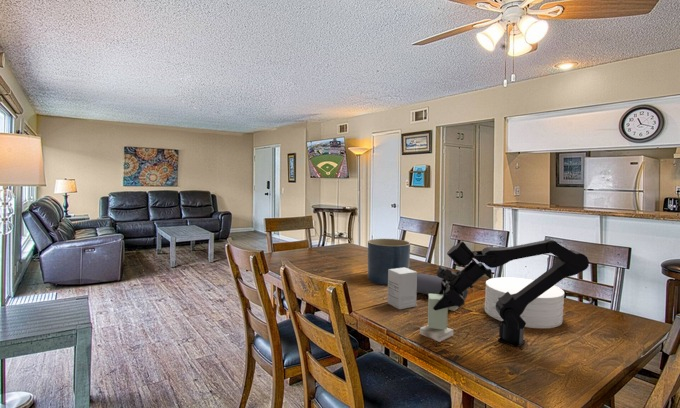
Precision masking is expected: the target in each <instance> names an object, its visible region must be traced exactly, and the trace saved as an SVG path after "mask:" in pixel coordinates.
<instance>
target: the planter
mask: <svg viewBox="0 0 680 408" xmlns="http://www.w3.org/2000/svg"><path fill="white" fill-rule="evenodd" d="M410 257H411V242H410V241H407V240H403V239H396V238H373V239H369V240H367V280H368V281H369V282H371V283H373V284H377V285H381V286H388V269H396V268H404V267H405V268H408V269H410V261H411V260H410Z"/></svg>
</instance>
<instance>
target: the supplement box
mask: <svg viewBox="0 0 680 408" xmlns="http://www.w3.org/2000/svg"><path fill="white" fill-rule="evenodd" d="M417 273H418V272H417V271H416V270H413V269H410V268H409V269H408V268H405V267H404V268H396V269H388V285H387V304H388V305H390V306H392V307H394V308H395V309H398V310H403V309H410V308H414V307H417V293H418V292H417Z"/></svg>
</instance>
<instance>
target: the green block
mask: <svg viewBox="0 0 680 408" xmlns="http://www.w3.org/2000/svg"><path fill="white" fill-rule="evenodd" d="M442 297H443V294H428V295H427V298H428V299H427V300H428V301H427V303H428V304H427V325H428V327H429V328H435V329H447V328H448V311H449V310H448V307H447V308H443V309H439V310H434V309H433V307H434V306H435V305H436V304H437V302H438V301H439V300H440V299H441V298H442Z"/></svg>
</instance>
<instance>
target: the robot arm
mask: <svg viewBox="0 0 680 408" xmlns="http://www.w3.org/2000/svg"><path fill="white" fill-rule="evenodd" d="M546 254H552V255H553V256H555V257H557V258H556V260H555V261H554V263H553V265H552V266H551V267H550V268H549V269H548V270H546V271H545V272H544V273H542V274H541V275H540V276H538V277H537V278H535V279H533V280H534V281H533V282H531V283H530V284H529V285H527V286H526V287H525V288H523V289H522V290H520V291H519V292H518V293H516V294H512V295H511V294H510V293H509V292H506V293H505V294H504V295H503V296H502V297H500V298H498V299H499V300H498V301H497V303H496V310H497V312H498V313H499V315H500V316H501V318H502V319H503V321H500V324H499V328H498V337H499V338H497V341H498V342H501V343H504V344H507V345H510V346H512V347H515V348H518V347H520V346H521V345H523V344H525V343H526V340H525V339H524V332H525V330H524V329H525V328H526V327H525V325H526V323H525V321H524V320H523V319H522V318H521V316H520V315H521V314H522V313H523V311H524V310H525V308H526V306H527V305H528V304H529V303H530V302H532V301H533V300H535V299H536V298H537V297H539V296H540V295H541V294H543V293H544V292H546V291H547V290H548V289H550V288H551V287H552V286H556V284H558V283H559V282H561V281H562V280H563V279H565V278H569V277H572V276H576V275H577V274H580V273H582V272H584V271H586V270H587V269H588V267H589V266H590V264H589V263H590V261H589V258H588V257H587V256H586V255H585V254H584V253H581V252H578V251H576V250H574V249H569V248H566V247H565V246H563V245H561V244H560V243H558V242H557V241H556V240H553V239H550V238H546V239H544V240H539V241H535V242H529V243H524V244H523V243H522V244H518V245H513V246H505V247H503V246H493V247H492V246H488V247H487V246H486V247H484V248H483V249H481V250H474V251H472V250H471V249H470V248H469V247H468V246H467V244H466V243H465V242H464V240H463V241H462V240H461V242H459V243H457V244H455V245H453V246H452V247H450V248H449V250H448V251H447V253H446V255H447V256H448V257H449V258H450V259H451V260H452V261H453V262H454V263H455V264H456V265H457V266H458V267H463V269H462V270H456V271H455V272H454V271H453V270H451V269H448V268H447V267H446V266H443V265H441V264H440V265H439V266H438V268H437V270H436V272H435V274H436V276H438V277H440V278H442V279H441V280H442V281H443V282H444V283H442V282H441V289H440V291H439V292H438V294H443V297H442V298H441V299H440V300H439V301H438V302H437V304H436V305H435V306H434V307H433V309H434V310H439V309H443V308H447V307H452V306H458V307H459V308H461V307H462V306H465V301H464V299H463V297H462V296H463V295H464V294H463V293H464V292H465V291H466V290H467V289H468V290H469V289H473V287H474V284H475V283H476V282H479V280H481V278H482V277H483V276H485V275H486V277H488V279H492V272H493V271H492V269H495V268H499V267H500V266H501V267H502V266H504V265H506V264H507V263H509V262H510V261H514V260H519V259H525V258H529V257H536V256H543V255H546ZM486 266H487V267H488V268H487V267H486ZM459 308H458V309H459Z"/></svg>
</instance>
